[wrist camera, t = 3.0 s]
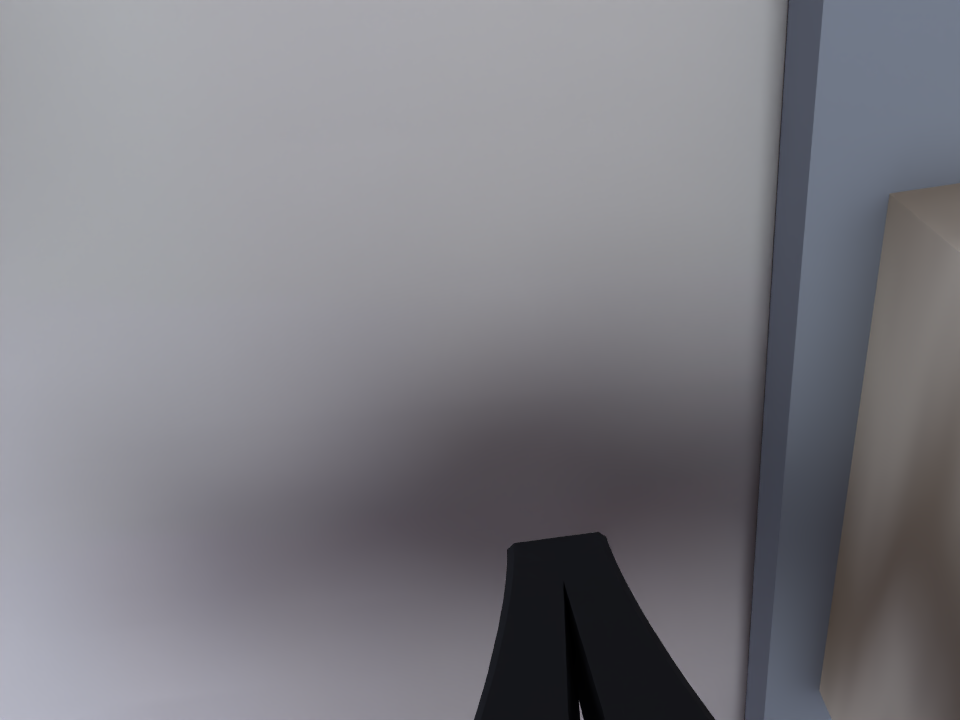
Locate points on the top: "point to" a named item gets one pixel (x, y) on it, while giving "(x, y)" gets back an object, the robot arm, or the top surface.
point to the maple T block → (904, 484)
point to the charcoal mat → (834, 297)
